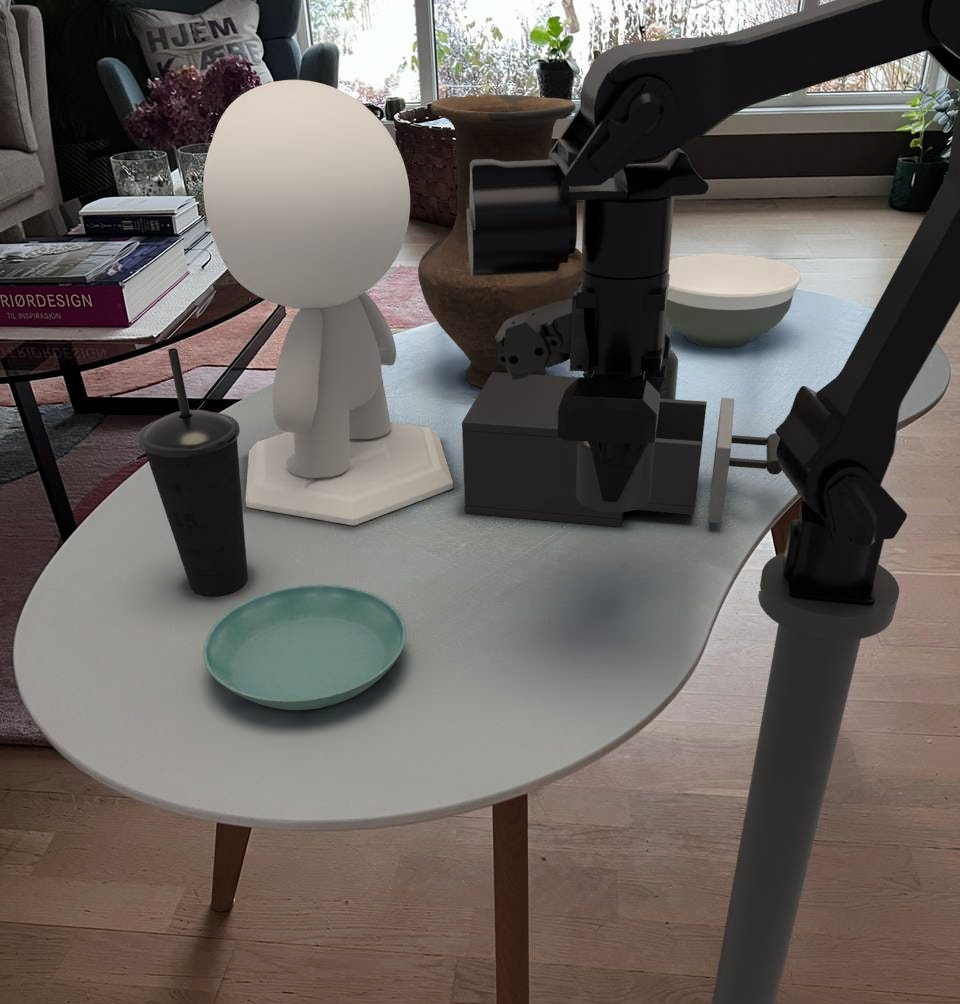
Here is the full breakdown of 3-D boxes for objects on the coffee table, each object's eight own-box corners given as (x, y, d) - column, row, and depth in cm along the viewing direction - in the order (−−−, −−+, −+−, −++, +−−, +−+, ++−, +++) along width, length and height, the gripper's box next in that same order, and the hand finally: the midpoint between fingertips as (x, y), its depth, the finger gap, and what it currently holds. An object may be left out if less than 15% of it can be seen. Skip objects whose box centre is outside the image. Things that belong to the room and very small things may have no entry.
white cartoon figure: (297, 421, 114) (250, 65, 94) (489, 448, 107) (481, 69, 87) (195, 499, 99) (113, 94, 79) (410, 536, 92) (380, 101, 72)
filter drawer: (774, 472, 99) (786, 401, 95) (775, 528, 90) (788, 452, 86) (588, 458, 103) (591, 389, 98) (571, 511, 94) (573, 436, 89)
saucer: (188, 731, 70) (181, 701, 69) (230, 613, 82) (225, 585, 81) (402, 727, 70) (399, 697, 69) (413, 609, 82) (411, 581, 81)
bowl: (632, 318, 142) (636, 257, 137) (763, 310, 143) (771, 249, 138) (667, 365, 126) (673, 298, 122) (813, 356, 128) (825, 289, 123)
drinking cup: (186, 558, 90) (137, 333, 78) (272, 558, 90) (235, 332, 78) (161, 605, 84) (104, 368, 72) (253, 605, 83) (211, 367, 72)
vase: (615, 381, 122) (631, 100, 105) (482, 420, 113) (475, 121, 96) (520, 339, 135) (520, 84, 118) (395, 371, 127) (375, 101, 109)
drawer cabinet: (635, 467, 103) (641, 380, 98) (620, 527, 93) (626, 433, 88) (493, 457, 106) (492, 371, 100) (464, 513, 96) (461, 422, 90)
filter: (653, 481, 78) (657, 424, 76) (647, 515, 74) (652, 456, 71) (580, 476, 79) (582, 420, 77) (570, 510, 75) (572, 451, 72)
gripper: (528, 230, 76) (528, 426, 85) (475, 306, 61) (483, 535, 70) (679, 233, 74) (663, 434, 83) (663, 313, 59) (646, 547, 68)
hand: (614, 482), depth 76 cm, fingers closed on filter, 5 cm apart
